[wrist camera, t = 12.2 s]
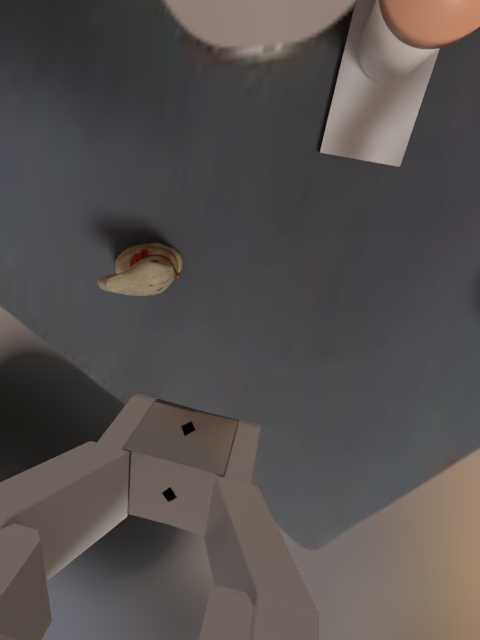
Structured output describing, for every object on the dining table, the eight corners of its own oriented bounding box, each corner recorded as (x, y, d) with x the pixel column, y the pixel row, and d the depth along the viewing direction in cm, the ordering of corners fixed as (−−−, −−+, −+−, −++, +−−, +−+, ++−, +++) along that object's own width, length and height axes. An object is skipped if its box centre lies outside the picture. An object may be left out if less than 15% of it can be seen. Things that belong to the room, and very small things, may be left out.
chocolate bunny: (180, 296, 39) (142, 335, 30) (117, 271, 39) (61, 302, 30) (193, 252, 37) (156, 280, 28) (126, 225, 37) (68, 244, 28)
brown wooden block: (270, 144, 31) (260, 138, 24) (326, -164, 23) (334, -301, 16) (450, 175, 30) (492, 179, 23) (577, -141, 22) (700, -281, 15)
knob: (342, 84, 28) (366, 30, 17) (366, -12, 25) (413, -155, 14) (417, 96, 27) (495, 48, 16) (450, -1, 25) (569, -140, 13)
